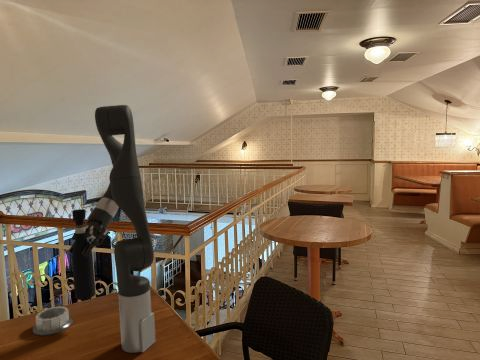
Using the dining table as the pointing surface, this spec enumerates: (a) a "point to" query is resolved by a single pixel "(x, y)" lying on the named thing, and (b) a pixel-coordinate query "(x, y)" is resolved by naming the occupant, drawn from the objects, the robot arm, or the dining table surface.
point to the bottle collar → (52, 321)
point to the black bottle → (82, 260)
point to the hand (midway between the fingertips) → (77, 254)
